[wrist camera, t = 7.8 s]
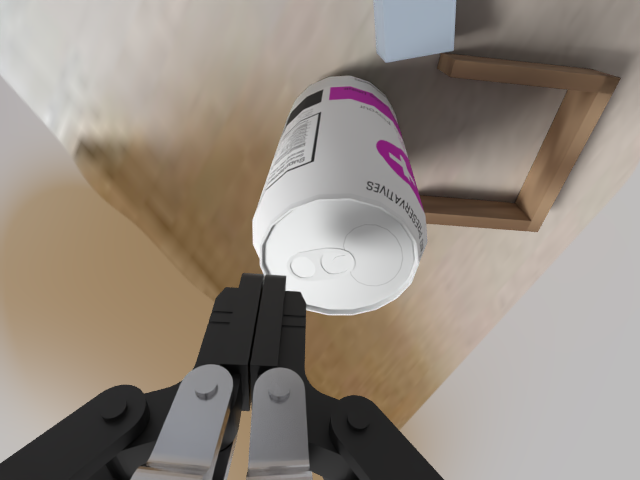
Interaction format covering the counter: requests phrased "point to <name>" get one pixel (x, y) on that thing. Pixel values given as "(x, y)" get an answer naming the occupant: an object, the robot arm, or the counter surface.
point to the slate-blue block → (413, 28)
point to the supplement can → (341, 201)
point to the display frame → (555, 153)
